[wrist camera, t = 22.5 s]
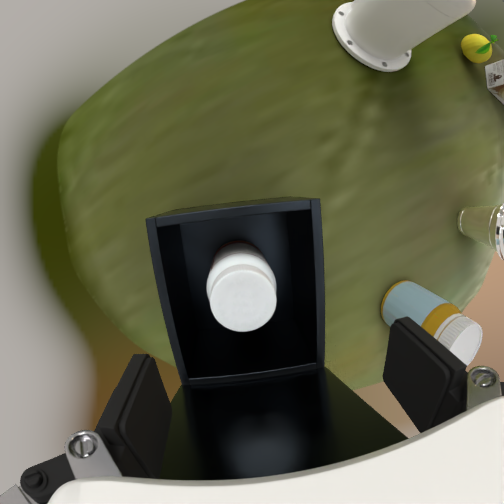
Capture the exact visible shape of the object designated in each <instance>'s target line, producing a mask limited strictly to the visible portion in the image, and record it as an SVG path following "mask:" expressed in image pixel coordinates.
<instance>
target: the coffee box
mask: <svg viewBox="0 0 504 504" xmlns="http://www.w3.org/2000/svg"><path fill="white" fill-rule="evenodd" d="M485 71H486V79H487V89H488V90H489V91H490V92H491V93H492V94H493V95H494V96H495V97H496V98H497V99H498V100H500V101H501V102H502V103H503V104H504V60H501V61H498V62H495V63H492V64H489V65H487V66H485Z"/></svg>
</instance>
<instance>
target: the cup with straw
mask: <svg viewBox="0 0 504 504" xmlns="http://www.w3.org/2000/svg"><path fill="white" fill-rule="evenodd" d="M457 225H458V229H459V231H460V233H461V234H463V235H466V236H467V237H470V238H472V239H474V240H476V241H479V242H481V243H483V244H485V245H487V246H490V247H491V248H492V249H494V250H495V251H497V252H498V255H499V257H500V258H501V259H502V260H504V203H503V204H500V205H496V206H475V207H464V208H462V209H461V210H460V212H459V215H458V220H457Z"/></svg>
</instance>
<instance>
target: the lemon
mask: <svg viewBox="0 0 504 504" xmlns="http://www.w3.org/2000/svg"><path fill="white" fill-rule="evenodd" d="M490 37H491V41H492V42H489V41H488V40H487V39H486V38H485V37H483V36H481V35H479V34H471V35H467V36H465V37H464V38H463V40H462V42H461V48H462V51H463V55H465V56H466V57H467V58H468V59H469V60H470V61H472V62H474V63H482V62H485V61H487V60H488V59H489V58H490V57H491V54H492V47H491V43H493V44H494V42H495V41H498V39H497V40H495V39H496V38H497V36H496V35H491V36H490Z"/></svg>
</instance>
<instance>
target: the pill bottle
mask: <svg viewBox="0 0 504 504" xmlns="http://www.w3.org/2000/svg"><path fill="white" fill-rule="evenodd" d="M207 295H208V299H209V301H210V307H211V311H212V313H213V315H214V317H215V318H216V320H217V321H218V322H219V323H220V324H222V325H223V326H224V327H226V328H228V329H230V330H233V331H238V332H247V331H252V330H255V329H258V328H260V327H261V326H263V325H264V324H266V323H267V322H268V321H269V320H270V318H271V317H272V315H273V313H274V311H275V308H276V302H277V298H276V280H275V276H274V273H273V271H272V270H271V268H270V266H269V264H268V263H267V261H266V259H265V257H264V255H263V254H262V252H261V251H260V250H259V249H258V248H257V247H256V246H255V245H253V244H251V243H249V242H246V241H232V242H229V243H226V244H225V245H223V246H222V247H221V248H219V249H218V251H217V252H216V253H215V255H214V257H213V260H212V264H211V268H210V272H209V276H208V279H207Z"/></svg>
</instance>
